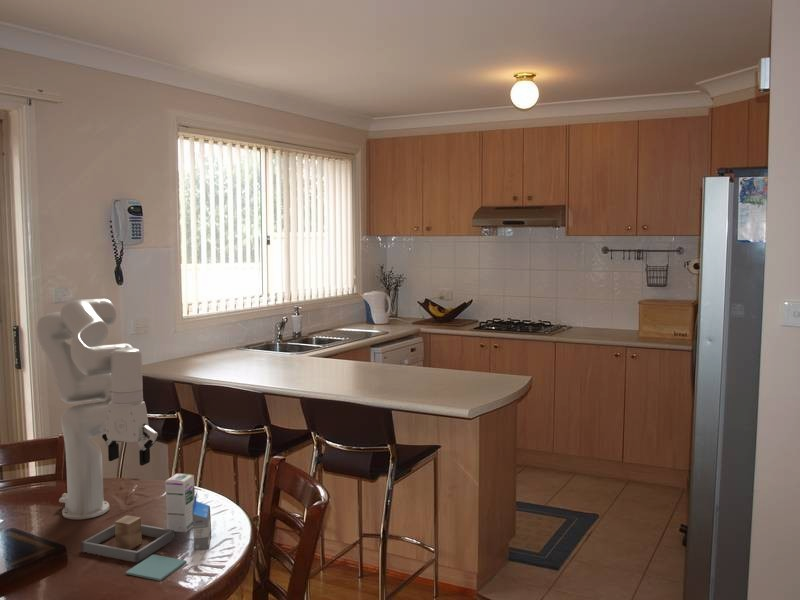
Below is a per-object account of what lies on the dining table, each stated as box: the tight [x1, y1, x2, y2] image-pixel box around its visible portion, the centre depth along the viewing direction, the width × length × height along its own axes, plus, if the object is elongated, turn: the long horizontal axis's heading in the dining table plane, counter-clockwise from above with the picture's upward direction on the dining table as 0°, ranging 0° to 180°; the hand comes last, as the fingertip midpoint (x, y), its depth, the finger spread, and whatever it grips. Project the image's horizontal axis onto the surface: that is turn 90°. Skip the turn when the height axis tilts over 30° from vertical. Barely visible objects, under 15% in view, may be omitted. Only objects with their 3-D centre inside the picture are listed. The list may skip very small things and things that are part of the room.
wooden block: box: [114, 514, 143, 550], centre depth 187 cm, size 4×4×7 cm
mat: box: [125, 553, 187, 582], centre depth 175 cm, size 10×10×1 cm
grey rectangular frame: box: [80, 523, 175, 564], centre depth 187 cm, size 17×14×2 cm
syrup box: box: [164, 473, 196, 534], centre depth 198 cm, size 6×6×14 cm
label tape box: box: [192, 492, 212, 551], centre depth 189 cm, size 9×4×12 cm, turn 10°
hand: (129, 461), depth 186 cm, fingers open, 9 cm apart
